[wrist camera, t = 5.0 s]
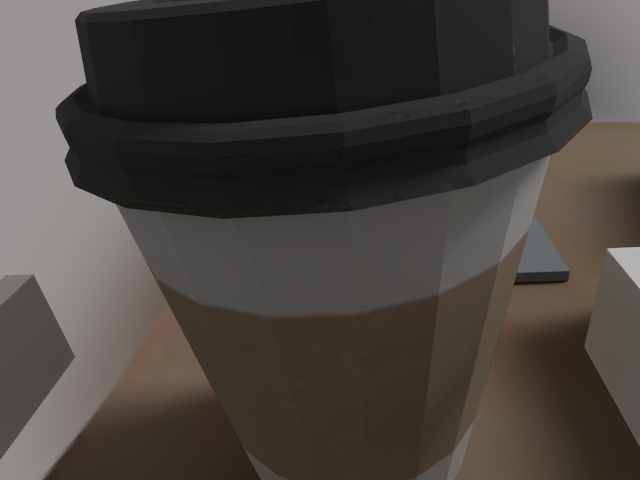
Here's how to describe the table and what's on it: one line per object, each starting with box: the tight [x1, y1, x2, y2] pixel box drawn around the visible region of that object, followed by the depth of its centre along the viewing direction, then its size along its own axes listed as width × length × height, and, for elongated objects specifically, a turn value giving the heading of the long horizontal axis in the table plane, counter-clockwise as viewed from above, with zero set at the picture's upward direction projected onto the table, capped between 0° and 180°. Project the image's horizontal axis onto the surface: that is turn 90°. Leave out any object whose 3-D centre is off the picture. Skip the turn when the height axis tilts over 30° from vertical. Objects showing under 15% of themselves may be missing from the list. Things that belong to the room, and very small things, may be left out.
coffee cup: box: [56, 0, 592, 480], centre depth 14 cm, size 11×11×15 cm
